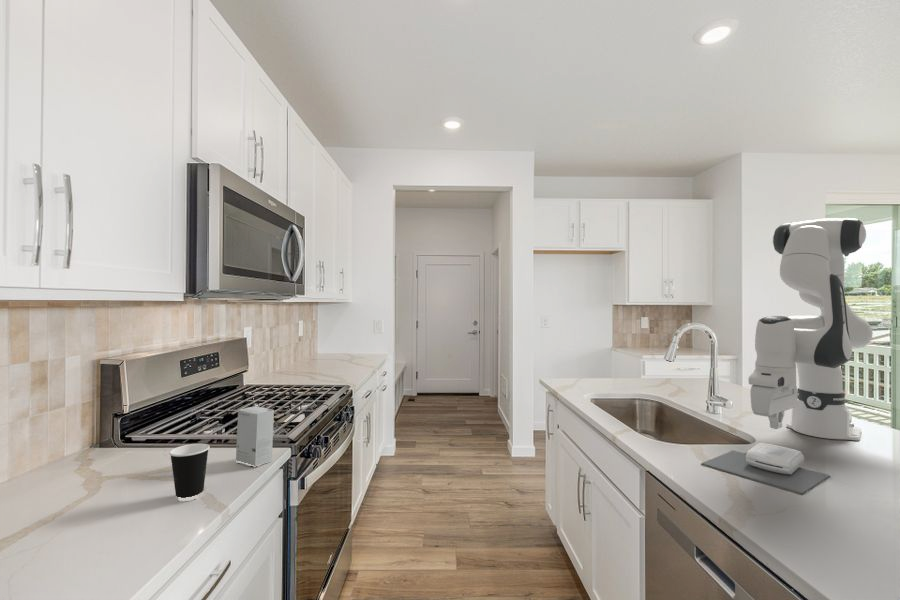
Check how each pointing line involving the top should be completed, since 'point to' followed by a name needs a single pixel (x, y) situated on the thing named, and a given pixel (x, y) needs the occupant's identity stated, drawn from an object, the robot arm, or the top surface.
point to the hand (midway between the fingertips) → (776, 427)
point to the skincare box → (254, 435)
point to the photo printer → (774, 458)
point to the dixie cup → (189, 469)
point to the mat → (767, 473)
